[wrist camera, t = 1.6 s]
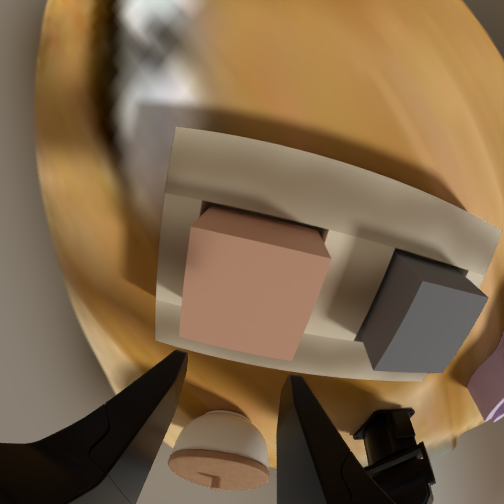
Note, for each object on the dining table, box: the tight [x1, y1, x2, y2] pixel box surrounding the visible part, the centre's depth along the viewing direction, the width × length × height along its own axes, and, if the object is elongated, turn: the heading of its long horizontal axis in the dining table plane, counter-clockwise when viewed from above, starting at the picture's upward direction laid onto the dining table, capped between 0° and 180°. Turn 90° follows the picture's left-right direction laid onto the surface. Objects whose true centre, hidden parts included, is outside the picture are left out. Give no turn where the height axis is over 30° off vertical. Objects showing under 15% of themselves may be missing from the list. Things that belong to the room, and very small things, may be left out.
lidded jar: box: [168, 410, 269, 490], centre depth 24 cm, size 11×11×9 cm
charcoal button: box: [359, 251, 488, 373], centre depth 14 cm, size 6×6×4 cm
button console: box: [155, 127, 502, 381], centre depth 17 cm, size 14×22×4 cm, turn 78°
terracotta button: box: [179, 206, 332, 361], centre depth 14 cm, size 6×6×4 cm
